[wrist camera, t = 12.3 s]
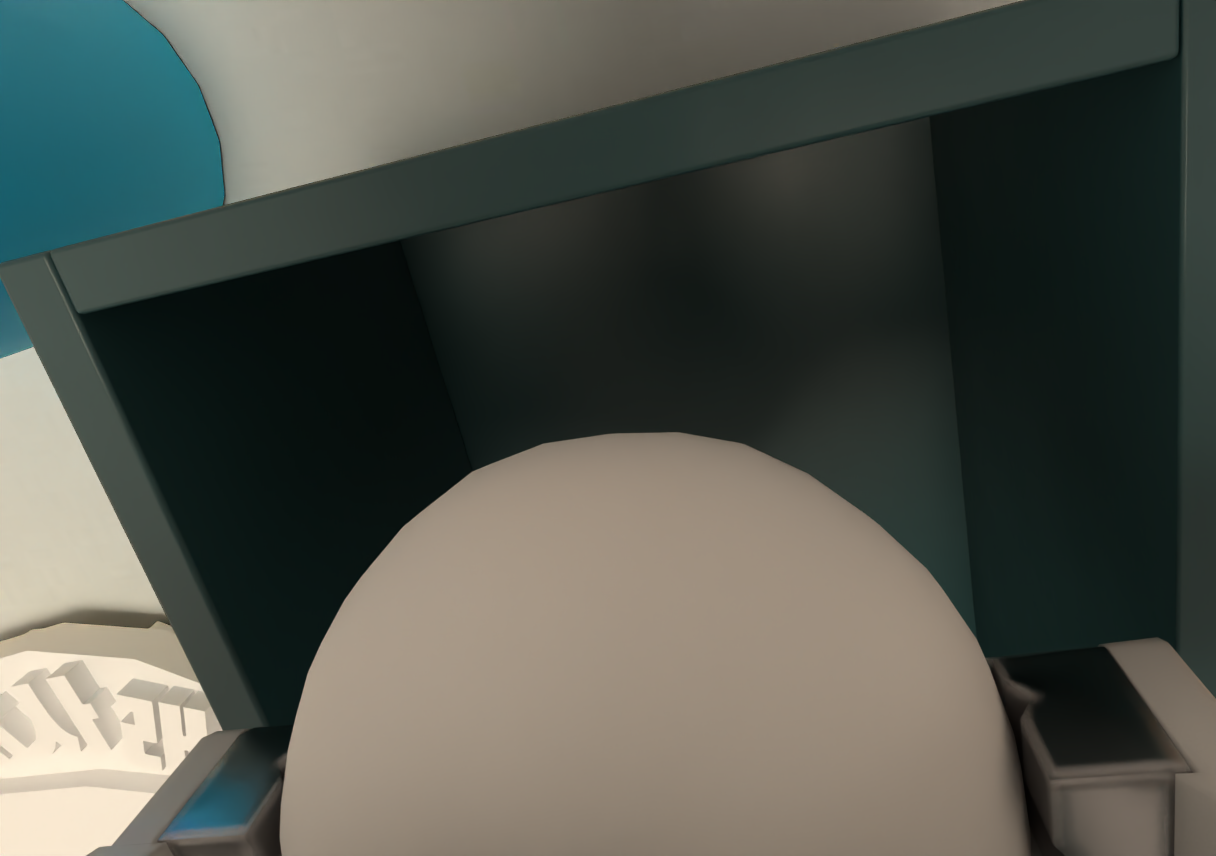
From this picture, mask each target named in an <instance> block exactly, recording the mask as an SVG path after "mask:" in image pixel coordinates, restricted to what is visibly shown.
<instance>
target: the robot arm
mask: <svg viewBox="0 0 1216 856" xmlns="http://www.w3.org/2000/svg"><path fill="white" fill-rule="evenodd" d="M986 661H987V663H988V666H989V668H990V671H991V673H992V676H993V679H994V681H995V684H996V687H997V689H998V692H999V695H1000V697H1001V700H1002V703H1003V705H1004V708H1005V711H1006V713H1007V716H1008V719H1009V721H1010V724H1011V727H1012V729H1013V732H1014V735H1015V740H1016V745H1017V750H1018V755H1019V759H1020V764H1021V769H1022V776H1023V784H1024V791H1025V798H1026V805H1027V812H1028V820H1029V827H1030V834H1031V856H1216V699H1215V697H1214V696H1213V695H1212V694H1211V693H1210V691H1209V690H1208V689H1207V688H1206V687H1205V686H1204V684H1203V683H1202V682H1201V681H1200V680H1199V678H1198V677H1197V676H1196V675H1195V674H1194V672H1193V671H1192V670H1191V669H1190V668H1189V666H1188V665H1187V664H1186V663H1185V662H1184V660H1183V659H1182V658H1181V657H1180V656H1179V655H1178V653H1177V652H1176V651H1175V650H1174V649H1173V647H1172V646H1171V645H1170V644H1169V643H1168V642H1166V641H1164V640H1162V639H1160V638H1158V637H1155V638H1147V639H1139V640H1131V641H1122V642H1114V643H1106V644H1099V645H1098V647H1085V648H1075V649H1065V650H1056V651H1046V652H1036V653H1027V654H1017V655H1007V656H998V657H988V658H986ZM293 726H294V725H283V726H269V727H255V728H252V729H237V730H224V731H216V732H214V733H212V734H209V735H207V736H205V737H203V738H201V739H200V741H199V742H198V743H197V744H196V745H195V747H194V748H193V749H192V750H191V751H190V753H189V754H188V755H187V756H186V757H185V759H184V760H183V761H182V762H181V763H180V764H179V766H178V767H177V768H176V769H175V770H174V772H173V773H172V774H171V775H170V776H169V778H168V779H167V780H166V781H165V782H164V784H163V785H162V786H161V787H160V788H159V790H158V791H157V792H156V793H155V794H154V795H153V797H152V798H151V799H150V800H149V801H148V803H147V804H146V805H145V806H144V807H143V809H142V810H141V811H140V812H139V813H138V815H137V816H136V817H135V818H134V819H133V821H132V822H131V823H130V824H129V825H128V826H127V828H126V829H125V830H124V831H123V832H122V834H121V835H120V836H119V837H118V838H117V840H116V841H115V842H114V843H113V844H112V846H103V847H98V848H97V849H95V850H94V851H92V852H91V853H89V854H88V855H86V856H282V853H281V845H280V815H281V799H282V791H283V784H284V776H285V769H286V761H287V754H288V747H289V743H290V739H291V735H292V731H293Z"/></svg>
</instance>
